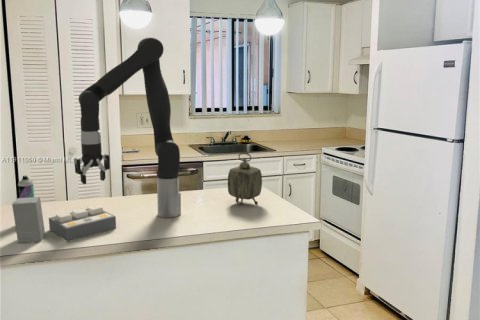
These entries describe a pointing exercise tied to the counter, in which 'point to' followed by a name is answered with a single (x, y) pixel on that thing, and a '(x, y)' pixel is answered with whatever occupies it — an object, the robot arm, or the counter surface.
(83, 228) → the button panel
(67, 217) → the button
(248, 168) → the tabletop clock
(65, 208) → the counter surface
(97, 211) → the button
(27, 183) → the spray can
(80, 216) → the middle button
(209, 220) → the counter surface
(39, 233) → the skincare box
